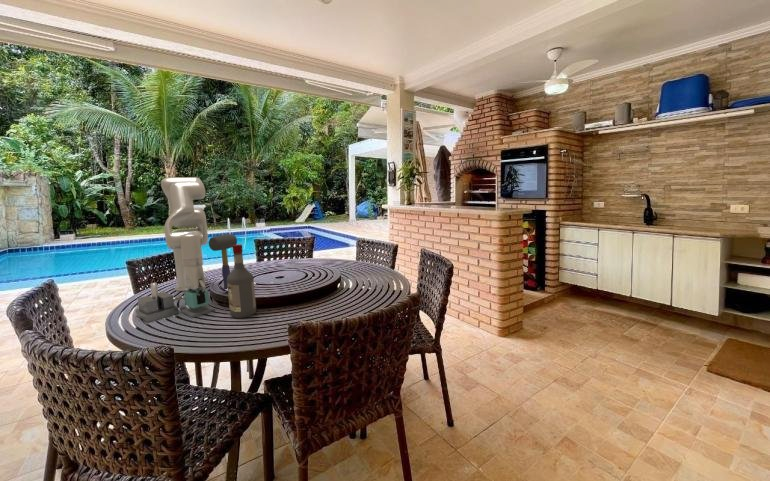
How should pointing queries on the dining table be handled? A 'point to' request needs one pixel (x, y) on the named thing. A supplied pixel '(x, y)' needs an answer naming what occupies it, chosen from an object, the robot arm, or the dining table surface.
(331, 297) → the dining table surface
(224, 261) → the rubber mallet
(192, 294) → the collar
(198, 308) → the mat
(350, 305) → the dining table surface
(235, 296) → the liquor
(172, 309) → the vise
